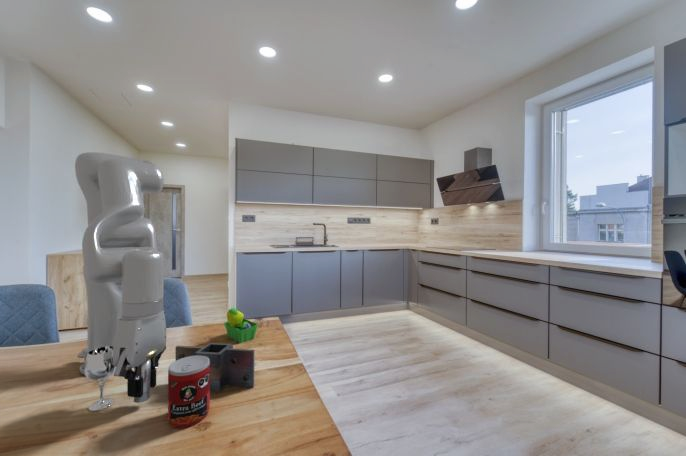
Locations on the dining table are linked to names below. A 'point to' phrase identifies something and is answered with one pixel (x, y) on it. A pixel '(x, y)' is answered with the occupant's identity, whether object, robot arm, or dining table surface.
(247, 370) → the hinge leaf
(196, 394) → the canned food
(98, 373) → the wineglass
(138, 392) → the robot arm
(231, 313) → the fruit basket
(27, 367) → the dining table surface
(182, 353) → the hinge leaf
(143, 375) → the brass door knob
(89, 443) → the dining table surface
